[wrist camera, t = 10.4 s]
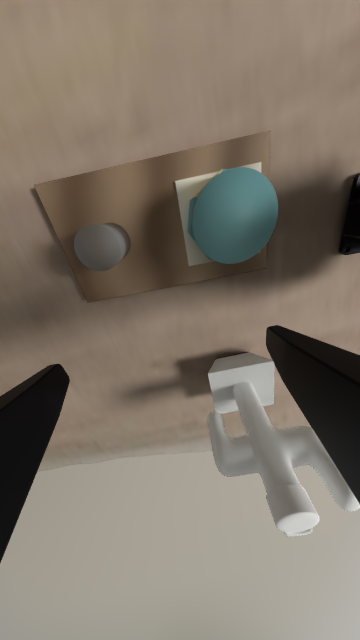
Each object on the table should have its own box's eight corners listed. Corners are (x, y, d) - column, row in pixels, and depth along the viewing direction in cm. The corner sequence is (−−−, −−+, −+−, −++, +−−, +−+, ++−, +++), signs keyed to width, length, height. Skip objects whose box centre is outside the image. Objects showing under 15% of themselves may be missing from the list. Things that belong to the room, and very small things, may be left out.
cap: (266, 223, 16) (292, 225, 13) (213, 266, 18) (224, 279, 14) (230, 159, 14) (250, 141, 11) (174, 215, 16) (175, 215, 12)
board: (265, 134, 14) (307, 99, 10) (262, 266, 19) (289, 281, 15) (40, 186, 15) (-12, 174, 11) (90, 299, 20) (68, 323, 16)
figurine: (194, 354, 24) (221, 519, 11) (269, 339, 24) (393, 495, 10) (203, 392, 28) (232, 553, 15) (269, 380, 27) (362, 537, 14)
